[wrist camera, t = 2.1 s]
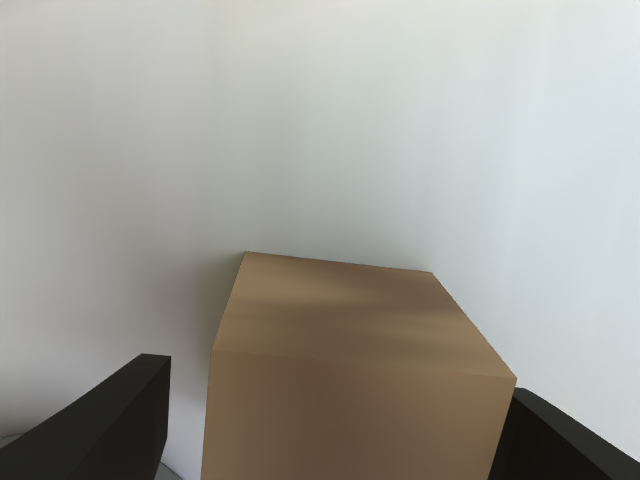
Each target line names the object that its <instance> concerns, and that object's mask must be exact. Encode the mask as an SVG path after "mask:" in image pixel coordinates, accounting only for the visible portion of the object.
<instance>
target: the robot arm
mask: <svg viewBox="0 0 640 480" xmlns="http://www.w3.org/2000/svg"><path fill="white" fill-rule="evenodd" d="M170 371H171V356H163V355H152V354H140V355H139V356H137V357H136V358H135V359H133V360H132V361H130V362H129V363H128V364H126V365H125V366H123V367H122V368H121V369H119V370H118V371H117V372H115V373H114V374H112V375H111V376H110V377H108V378H107V379H106V380H104V381H103V382H101V383H100V384H99V385H97V386H96V387H95V388H93V389H92V390H90V391H89V392H87V393H86V394H85V395H83V396H82V397H80V398H79V399H77V400H76V401H75V402H73V403H72V404H70V405H69V406H67V407H66V408H64V409H63V410H61V411H60V412H58V413H56V414H55V415H53V416H52V417H50V418H49V419H47V420H45V421H44V422H42V423H41V424H39V425H38V426H36V427H35V428H33V429H31V430H30V431H28V432H27V433H25V434H24V435H22V436H20V437H19V438H17V439H16V440H14V441H12V442H10V443H9V444H7V445H5V446H4V447H2V448H0V480H154V479H155V476H156V473H157V470H158V467H159V463H160V460H161V457H162V453H163V450H164V446H165V443H166V440H167V431H168V411H169V391H170ZM487 480H640V463H639V462H638V461H636V460H634V459H633V458H631V457H630V456H628V455H627V454H625V453H624V452H622V451H621V450H619V449H618V448H616V447H615V446H613V445H612V444H610V443H609V442H607V441H606V440H604V439H603V438H601V437H600V436H598V435H597V434H595V433H594V432H592V431H591V430H589V429H588V428H586V427H585V426H583V425H582V424H580V423H579V422H577V421H576V420H575V419H573V418H572V417H570V416H569V415H567V414H566V413H564V412H563V411H561V410H560V409H558V408H557V407H555V406H553V405H552V404H550V403H549V402H547V401H546V400H544V399H542V398H541V397H539V396H538V395H536V394H534V393H532V392H530V391H529V390H527V389H525V388H516V387H515V388H514V392H513V395H512V398H511V402H510V405H509V409H508V412H507V415H506V419H505V422H504V425H503V429H502V432H501V436H500V439H499V442H498V446H497V449H496V452H495V456H494V459H493V462H492V466H491V469H490V473H489V476H488V479H487Z"/></svg>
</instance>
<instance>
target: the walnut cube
mask: <svg viewBox="0 0 640 480" xmlns="http://www.w3.org/2000/svg"><path fill="white" fill-rule="evenodd" d="M516 382H517V377H516V376H515V375H514V374H513V372H512V371H511V370H510V369H509V367H508V366H507V365H506V364H505V363H504V361H503V360H502V359H501V358H500V356H499V355H498V354H497V353H496V351H495V350H494V349H493V348H492V346H491V345H490V344H489V343H488V342H487V340H486V339H485V338H484V337H483V335H482V334H481V333H480V332H479V330H478V329H477V328H476V327H475V325H474V324H473V323H472V322H471V321H470V319H469V318H468V317H467V316H466V314H465V313H464V312H463V311H462V309H461V308H460V307H459V306H458V304H457V303H456V302H455V301H454V300H453V298H452V297H451V296H450V295H449V293H448V292H447V291H446V290H445V288H444V287H443V286H442V285H441V283H440V282H439V281H438V280H437V279H436V277H435V276H434V275H433V274H432V273H430V272H421V271H413V270H404V269H395V268H386V267H378V266H369V265H360V264H351V263H343V262H334V261H325V260H317V259H308V258H299V257H290V256H282V255H273V254H264V253H255V252H247V251H245V254H244V256H243V259H242V262H241V265H240V268H239V271H238V274H237V276H236V279H235V282H234V285H233V288H232V291H231V294H230V296H229V299H228V302H227V305H226V308H225V311H224V313H223V316H222V319H221V322H220V325H219V328H218V331H217V333H216V336H215V339H214V342H213V345H212V348H211V355H210V367H209V380H208V393H207V405H206V418H205V431H204V443H203V456H202V469H201V480H487V479H488V476H489V473H490V469H491V466H492V462H493V459H494V456H495V452H496V449H497V446H498V442H499V439H500V436H501V432H502V429H503V425H504V422H505V419H506V415H507V412H508V409H509V405H510V402H511V398H512V395H513V392H514V388H515V385H516Z"/></svg>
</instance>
